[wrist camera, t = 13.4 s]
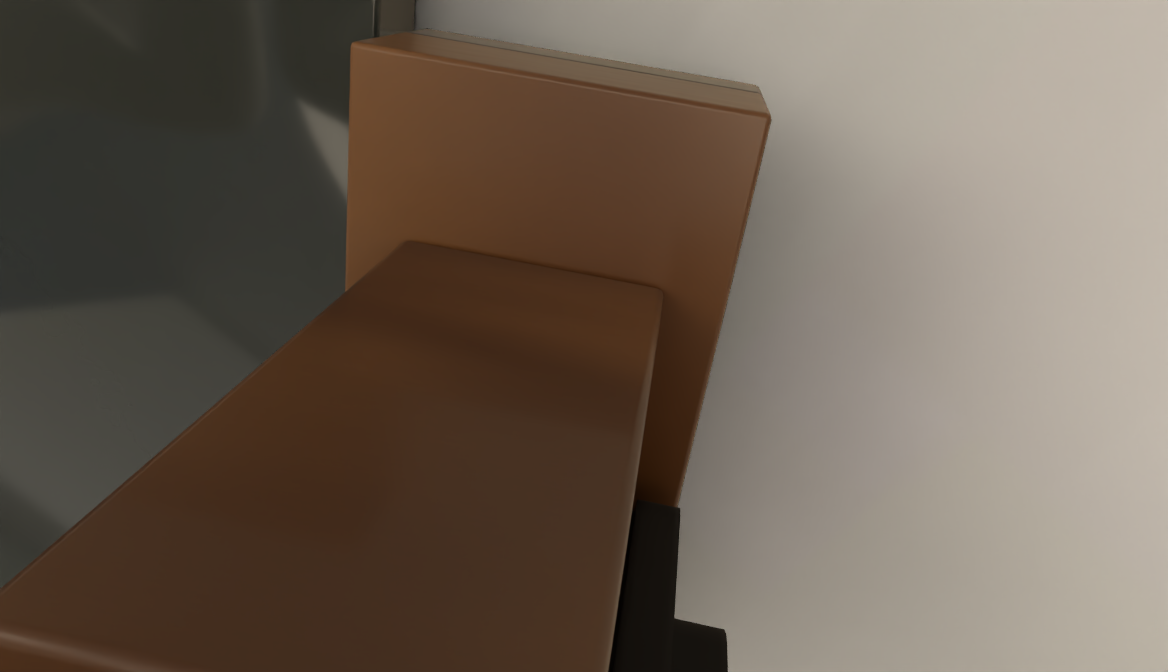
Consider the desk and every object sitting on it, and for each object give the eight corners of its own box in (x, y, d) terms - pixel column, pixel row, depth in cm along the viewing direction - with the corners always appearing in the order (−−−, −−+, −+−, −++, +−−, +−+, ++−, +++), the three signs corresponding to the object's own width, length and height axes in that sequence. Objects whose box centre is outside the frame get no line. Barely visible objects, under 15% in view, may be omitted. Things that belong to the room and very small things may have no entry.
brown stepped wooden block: (385, 683, 16) (73, 1360, 8) (424, 26, 10) (-344, 161, 3) (608, 735, 15) (507, 1490, 8) (760, 84, 10) (905, 408, 3)
